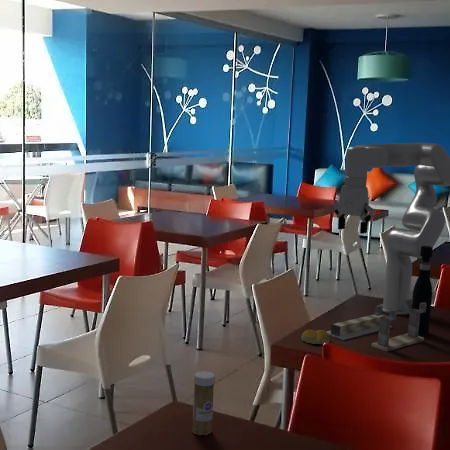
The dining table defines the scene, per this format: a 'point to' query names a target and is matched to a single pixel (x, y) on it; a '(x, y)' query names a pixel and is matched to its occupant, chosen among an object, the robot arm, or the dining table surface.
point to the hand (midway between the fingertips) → (352, 231)
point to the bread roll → (315, 336)
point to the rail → (355, 325)
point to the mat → (356, 333)
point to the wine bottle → (423, 291)
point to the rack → (402, 340)
